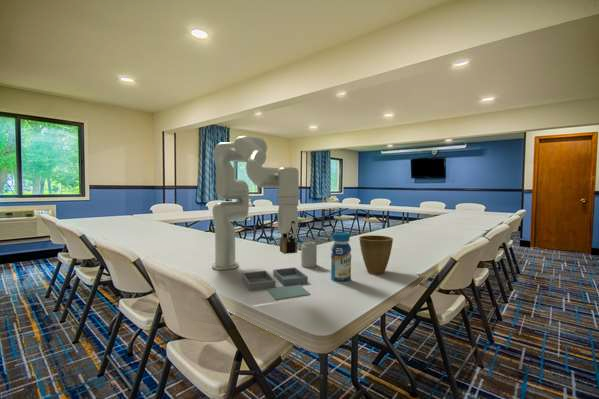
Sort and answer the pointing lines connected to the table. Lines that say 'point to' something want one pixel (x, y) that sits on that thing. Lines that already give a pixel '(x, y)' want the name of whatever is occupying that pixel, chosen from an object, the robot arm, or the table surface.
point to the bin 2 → (290, 276)
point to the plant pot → (376, 252)
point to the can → (309, 254)
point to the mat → (288, 291)
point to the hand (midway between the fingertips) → (288, 250)
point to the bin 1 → (258, 280)
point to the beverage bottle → (341, 258)
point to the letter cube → (285, 245)
